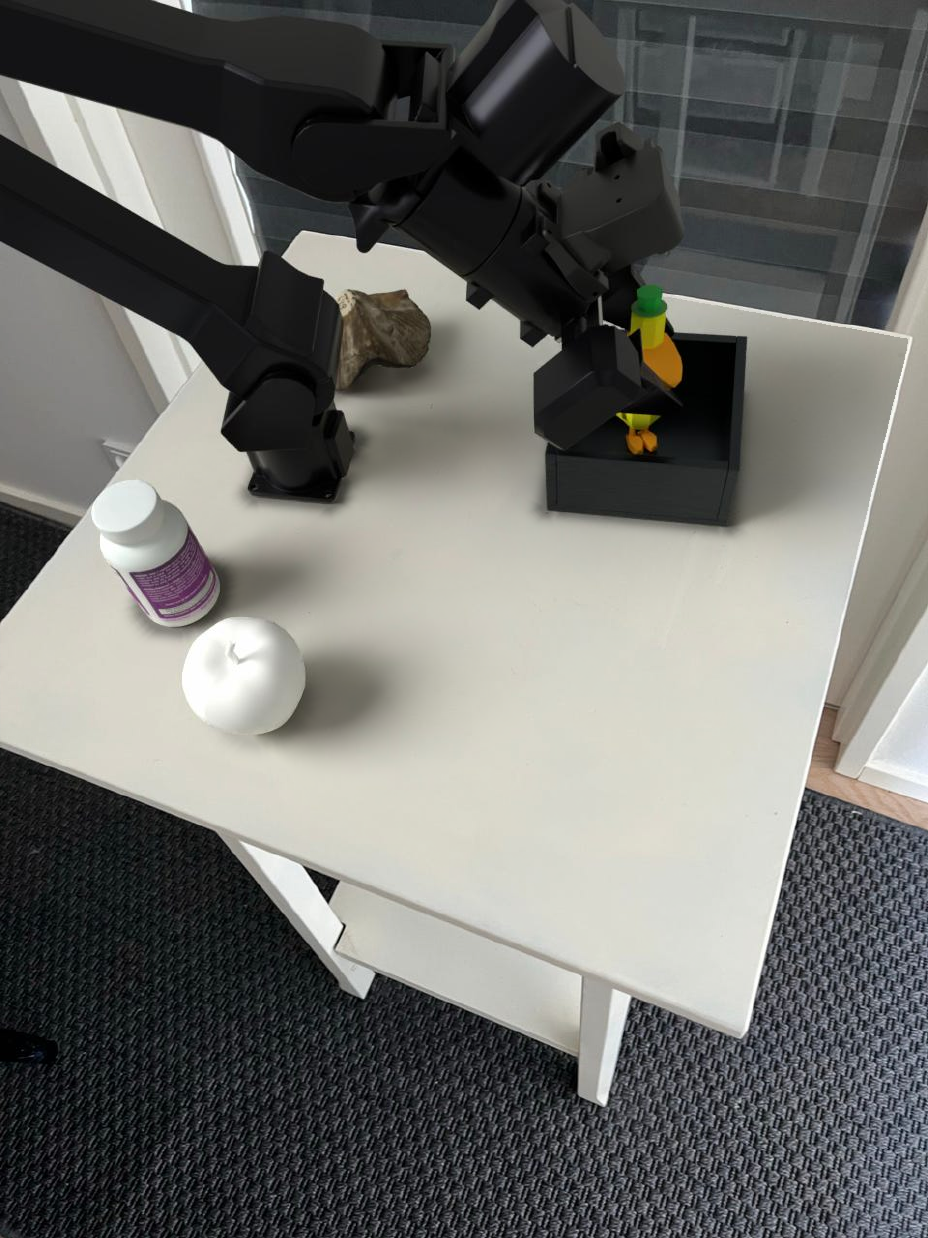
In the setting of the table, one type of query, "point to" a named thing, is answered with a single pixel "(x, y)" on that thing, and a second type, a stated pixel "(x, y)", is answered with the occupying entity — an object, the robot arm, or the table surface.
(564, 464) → the open black box
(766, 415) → the table surface
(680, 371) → the toy figure
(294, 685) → the plain white apple
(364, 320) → the brown irregular lump
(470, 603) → the table surface
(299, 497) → the robot arm
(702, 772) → the table surface
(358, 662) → the table surface
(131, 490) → the pill bottle
